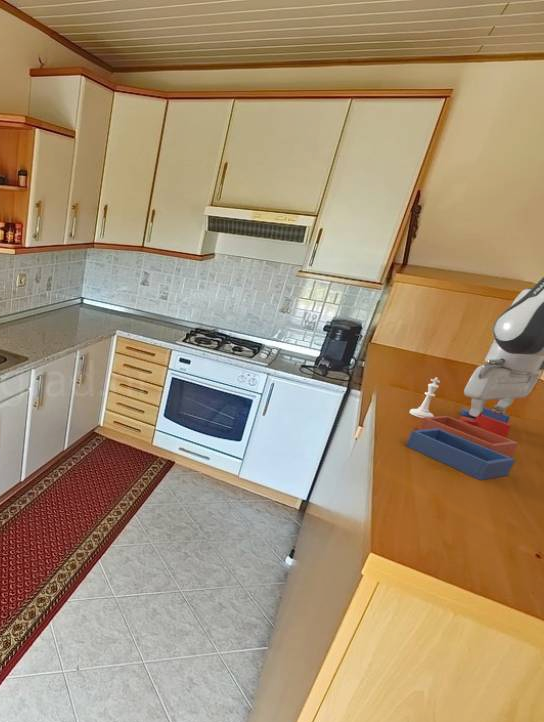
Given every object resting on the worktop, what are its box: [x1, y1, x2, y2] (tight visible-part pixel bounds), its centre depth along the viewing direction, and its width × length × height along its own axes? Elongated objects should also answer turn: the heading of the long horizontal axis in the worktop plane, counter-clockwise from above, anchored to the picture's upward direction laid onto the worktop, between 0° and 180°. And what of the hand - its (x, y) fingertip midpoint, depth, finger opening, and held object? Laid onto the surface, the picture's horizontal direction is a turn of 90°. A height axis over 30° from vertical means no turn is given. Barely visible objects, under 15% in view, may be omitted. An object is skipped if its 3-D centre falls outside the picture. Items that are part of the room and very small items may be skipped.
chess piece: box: [408, 376, 441, 419], centre depth 119 cm, size 5×5×10 cm
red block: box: [458, 415, 512, 438], centre depth 116 cm, size 9×3×3 cm, turn 21°
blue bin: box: [405, 428, 516, 481], centre depth 96 cm, size 14×9×4 cm, turn 21°
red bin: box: [417, 415, 519, 458], centre depth 105 cm, size 14×9×4 cm, turn 21°
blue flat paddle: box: [459, 406, 511, 424], centre depth 122 cm, size 9×3×3 cm, turn 21°
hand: (485, 414), depth 115 cm, fingers open, 8 cm apart
